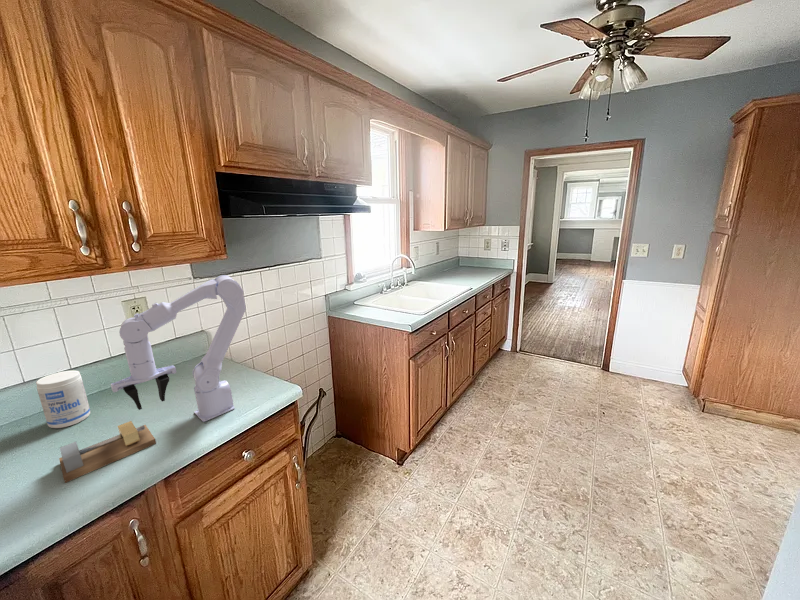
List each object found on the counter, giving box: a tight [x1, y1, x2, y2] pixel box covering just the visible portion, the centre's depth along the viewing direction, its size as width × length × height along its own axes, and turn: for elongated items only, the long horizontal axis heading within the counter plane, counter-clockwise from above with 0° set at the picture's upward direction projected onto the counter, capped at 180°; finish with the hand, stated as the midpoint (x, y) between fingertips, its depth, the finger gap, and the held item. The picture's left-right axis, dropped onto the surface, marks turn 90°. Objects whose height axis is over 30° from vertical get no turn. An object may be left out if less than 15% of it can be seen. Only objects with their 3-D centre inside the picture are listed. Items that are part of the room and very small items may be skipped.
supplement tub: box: [35, 369, 91, 429], centre depth 100 cm, size 10×10×15 cm
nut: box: [117, 420, 140, 446], centre depth 90 cm, size 3×7×3 cm, turn 49°
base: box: [58, 424, 157, 484], centre depth 87 cm, size 18×10×5 cm, turn 139°
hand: (151, 404), depth 95 cm, fingers open, 5 cm apart
